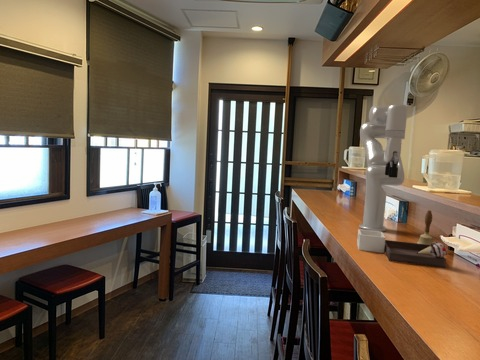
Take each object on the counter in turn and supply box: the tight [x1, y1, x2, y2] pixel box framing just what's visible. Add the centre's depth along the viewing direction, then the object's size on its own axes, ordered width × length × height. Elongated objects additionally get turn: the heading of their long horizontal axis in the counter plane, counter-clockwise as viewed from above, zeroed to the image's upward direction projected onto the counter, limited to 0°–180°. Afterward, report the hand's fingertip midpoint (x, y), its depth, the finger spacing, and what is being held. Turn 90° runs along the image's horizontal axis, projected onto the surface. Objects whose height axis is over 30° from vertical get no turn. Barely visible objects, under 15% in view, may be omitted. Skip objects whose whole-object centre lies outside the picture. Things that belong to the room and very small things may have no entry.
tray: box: [384, 239, 447, 269], centre depth 129 cm, size 18×18×3 cm
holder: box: [356, 228, 386, 254], centre depth 137 cm, size 9×9×6 cm
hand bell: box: [417, 209, 434, 245], centre depth 139 cm, size 8×8×16 cm
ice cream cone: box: [417, 241, 448, 258], centre depth 124 cm, size 6×6×15 cm
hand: (390, 176), depth 144 cm, fingers open, 9 cm apart
